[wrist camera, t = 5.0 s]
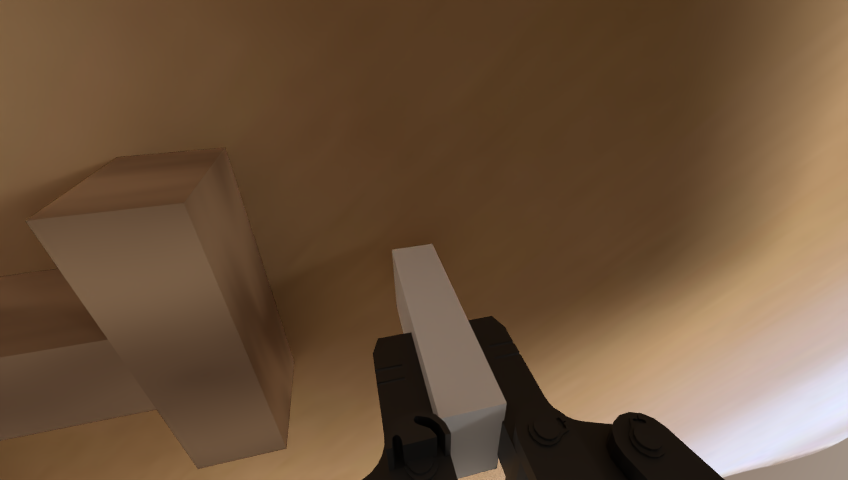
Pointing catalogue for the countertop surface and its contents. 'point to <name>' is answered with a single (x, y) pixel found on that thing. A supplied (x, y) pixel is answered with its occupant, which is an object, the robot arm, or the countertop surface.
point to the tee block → (149, 312)
